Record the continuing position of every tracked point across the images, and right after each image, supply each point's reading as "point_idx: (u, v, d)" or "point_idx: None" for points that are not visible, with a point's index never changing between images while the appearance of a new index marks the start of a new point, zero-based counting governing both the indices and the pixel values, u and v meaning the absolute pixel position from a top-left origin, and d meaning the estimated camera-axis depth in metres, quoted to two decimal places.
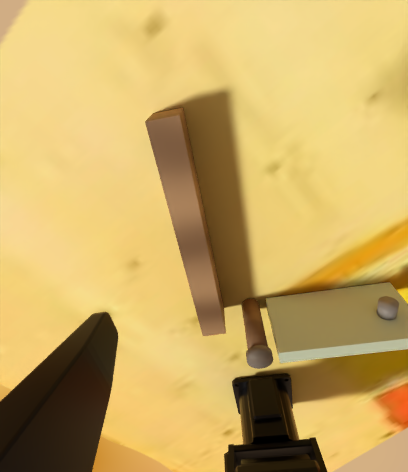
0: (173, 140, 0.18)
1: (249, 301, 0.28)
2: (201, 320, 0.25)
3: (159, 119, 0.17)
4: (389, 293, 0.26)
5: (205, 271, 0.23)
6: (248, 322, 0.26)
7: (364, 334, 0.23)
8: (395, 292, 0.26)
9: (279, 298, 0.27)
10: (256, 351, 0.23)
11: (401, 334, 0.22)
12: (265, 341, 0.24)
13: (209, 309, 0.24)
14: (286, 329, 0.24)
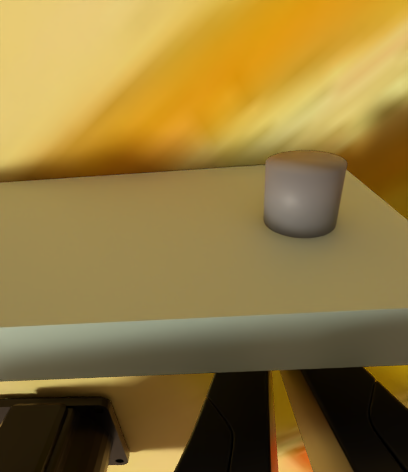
0: None
1: None
2: None
3: None
4: None
5: None
6: None
7: (169, 282, 0.05)
8: (347, 175, 0.08)
9: (11, 184, 0.09)
10: None
11: (339, 290, 0.04)
12: None
13: None
14: None
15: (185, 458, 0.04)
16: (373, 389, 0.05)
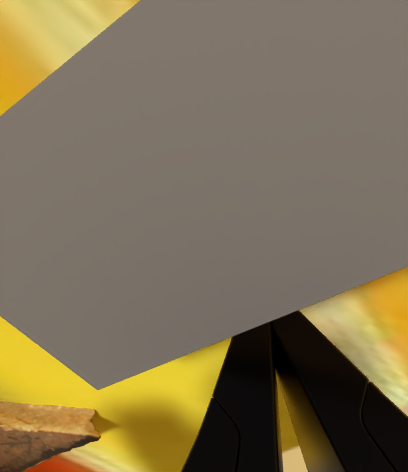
0: None
1: None
2: None
3: None
4: None
5: None
6: None
7: None
8: None
9: None
10: None
11: None
12: None
13: None
14: None
15: (192, 458, 0.04)
16: (366, 390, 0.05)
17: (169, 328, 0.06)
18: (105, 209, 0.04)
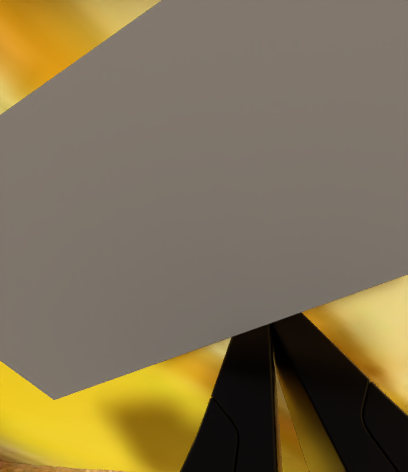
0: None
1: None
2: None
3: None
4: None
5: None
6: None
7: None
8: None
9: None
10: None
11: None
12: None
13: None
14: None
15: (191, 458, 0.04)
16: (367, 390, 0.05)
17: (121, 345, 0.06)
18: (55, 236, 0.05)
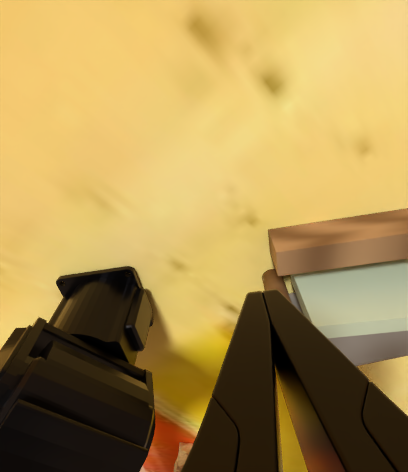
0: None
1: (282, 278, 0.24)
2: (306, 251, 0.19)
3: None
4: None
5: (383, 255, 0.20)
6: (287, 294, 0.22)
7: None
8: None
9: None
10: None
11: None
12: None
13: (322, 258, 0.20)
14: (319, 302, 0.21)
15: (192, 458, 0.04)
16: (366, 390, 0.05)
17: None
18: None
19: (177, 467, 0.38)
